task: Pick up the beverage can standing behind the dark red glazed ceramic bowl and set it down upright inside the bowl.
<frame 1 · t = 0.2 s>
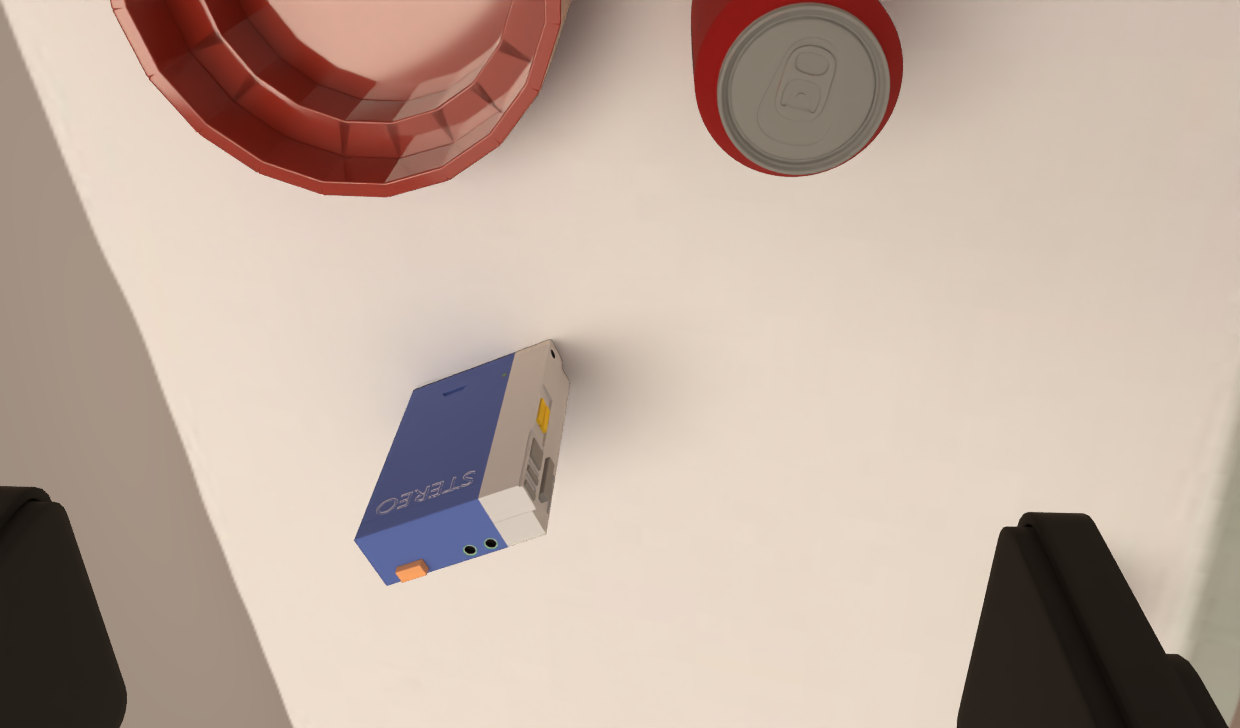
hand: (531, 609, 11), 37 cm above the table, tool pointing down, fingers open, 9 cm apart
beverage can: (772, 7, 43), on the table
walkman: (492, 383, 53), on the table
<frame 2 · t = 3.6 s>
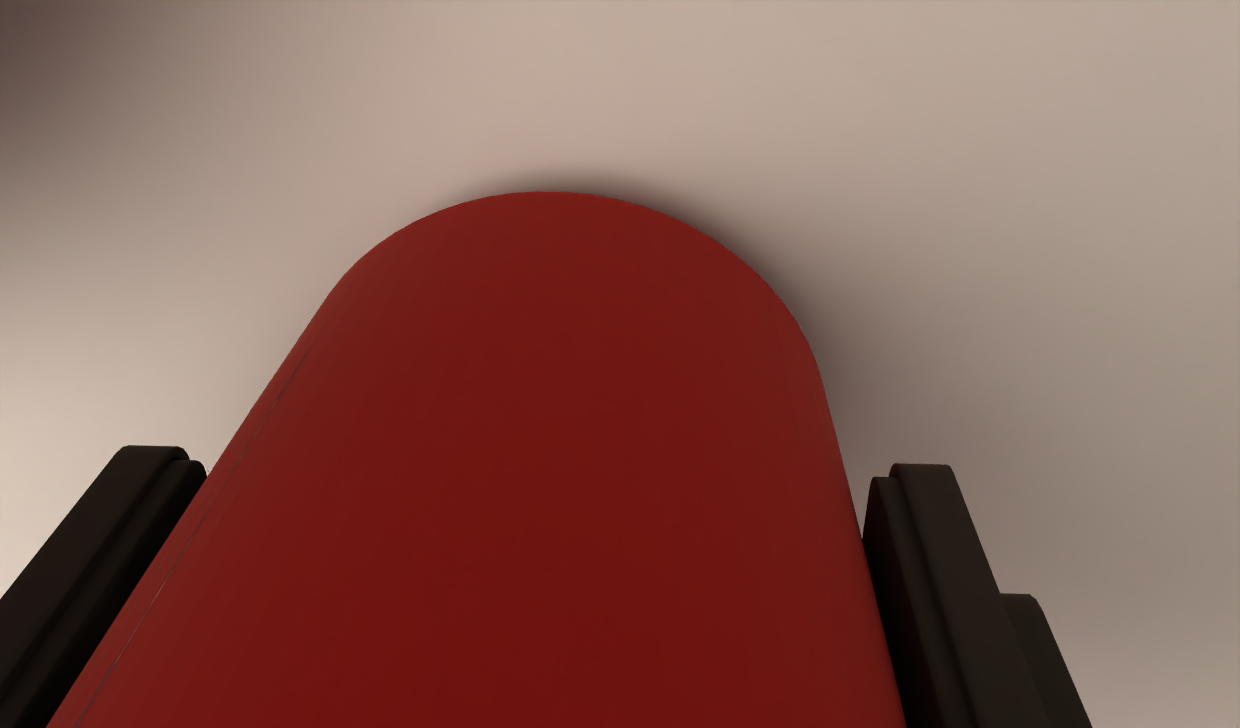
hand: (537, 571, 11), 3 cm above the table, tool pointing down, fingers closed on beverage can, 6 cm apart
beverage can: (567, 397, 14), on the table, touching gripper
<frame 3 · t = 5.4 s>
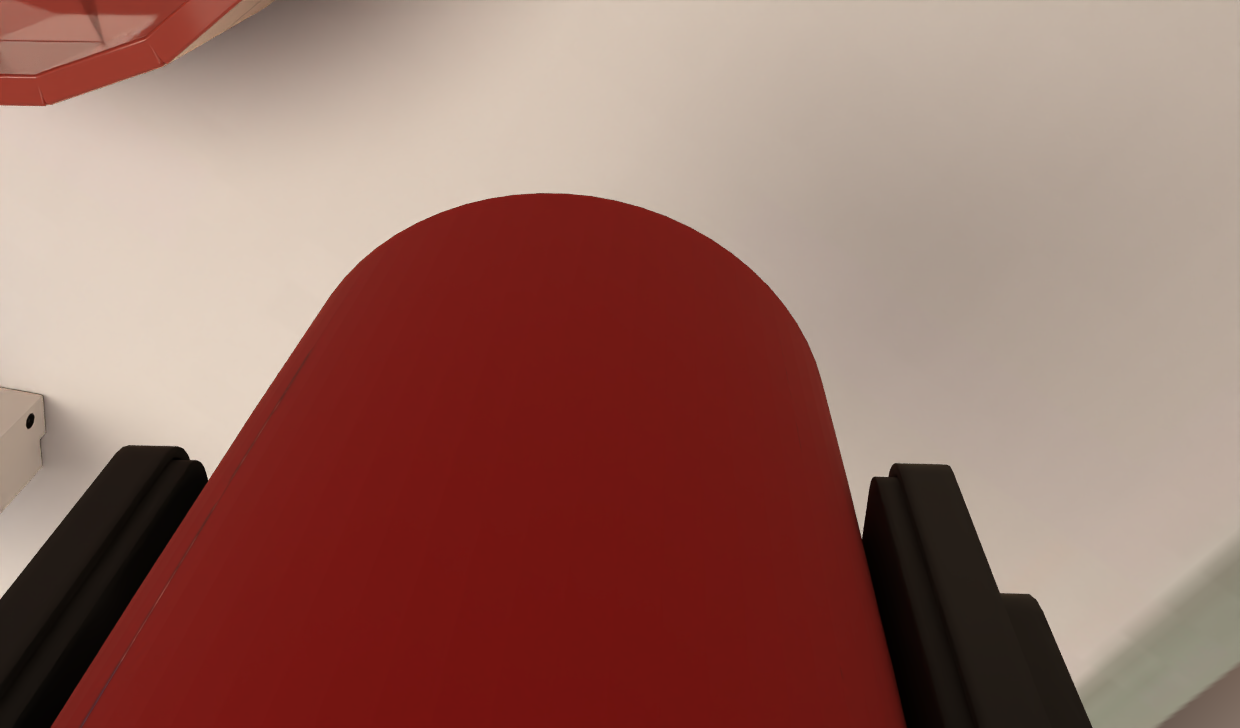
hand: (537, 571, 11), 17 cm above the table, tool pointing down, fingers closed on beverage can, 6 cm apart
beverage can: (567, 398, 14), point 14 cm above the table, touching gripper
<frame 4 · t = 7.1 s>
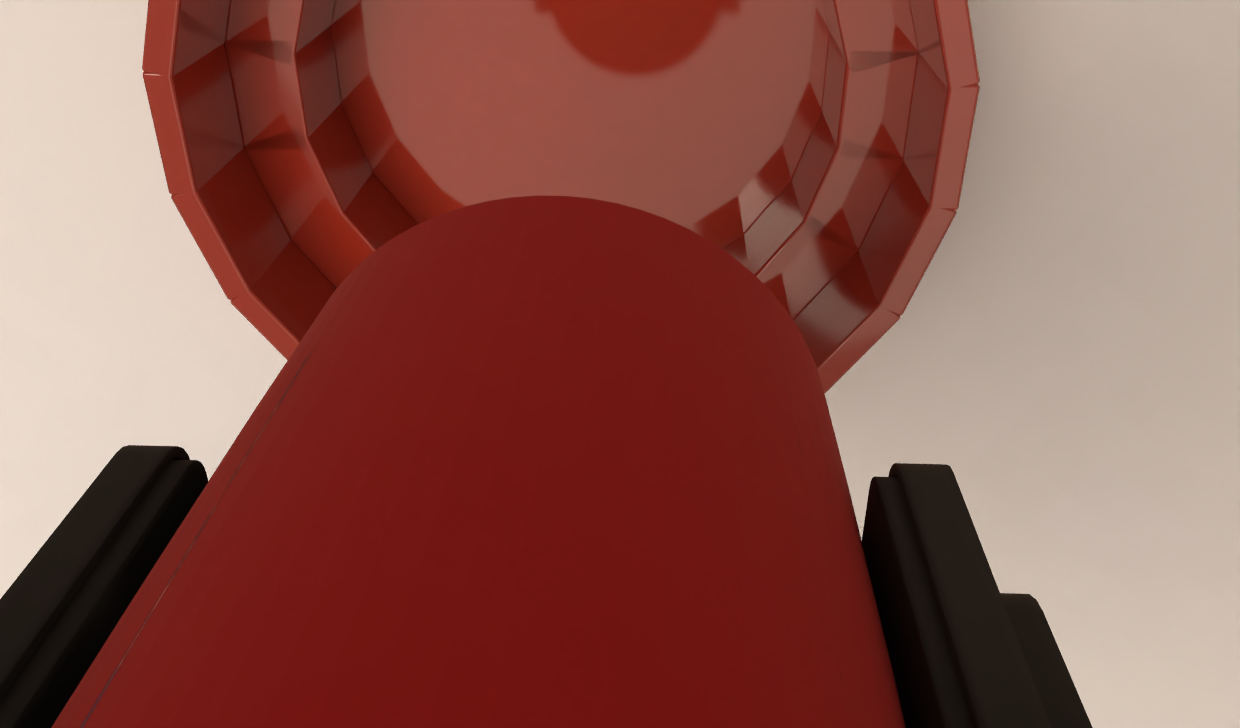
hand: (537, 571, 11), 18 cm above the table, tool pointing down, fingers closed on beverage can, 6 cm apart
bowl: (581, 59, 26), on the table
beverage can: (567, 400, 14), point 15 cm above the table, touching gripper
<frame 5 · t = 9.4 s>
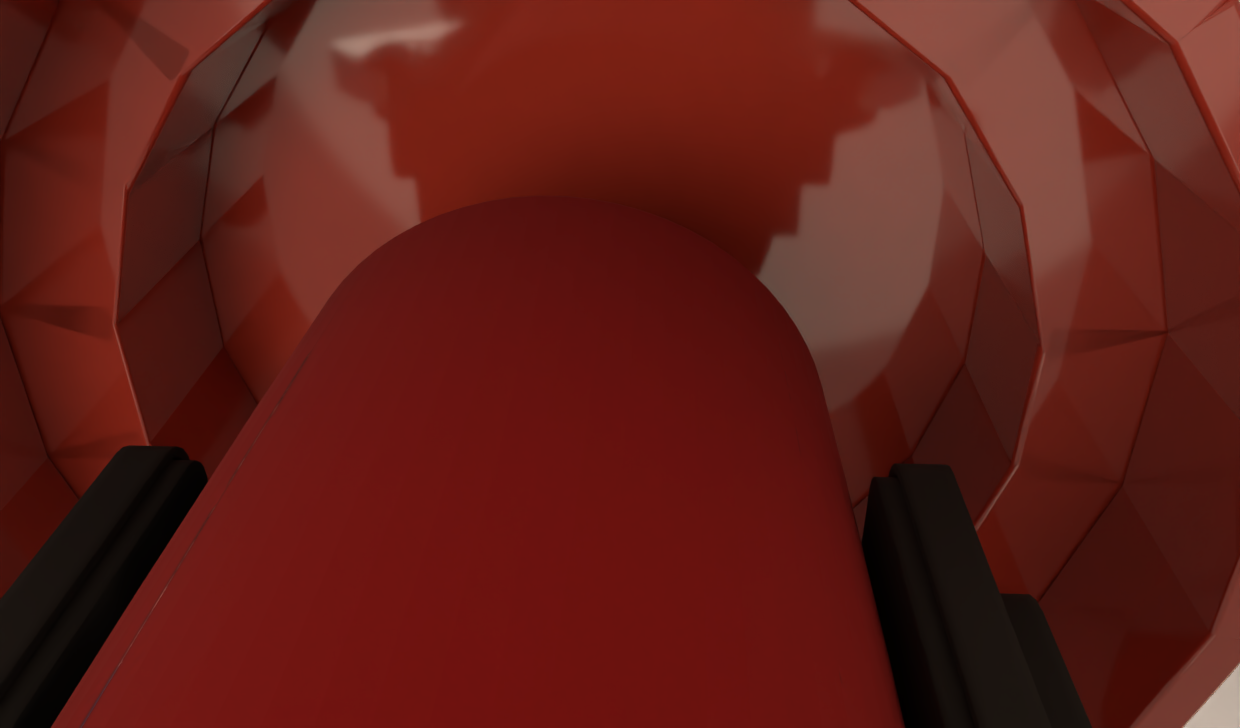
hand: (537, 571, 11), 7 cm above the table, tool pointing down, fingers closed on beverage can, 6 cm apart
bowl: (591, 278, 17), on the table
beverage can: (567, 400, 14), point 4 cm above the table, touching gripper
when the fingers open (4 cm above the table, at t = 10.8 s): beverage can stays where it is, resting on bowl.
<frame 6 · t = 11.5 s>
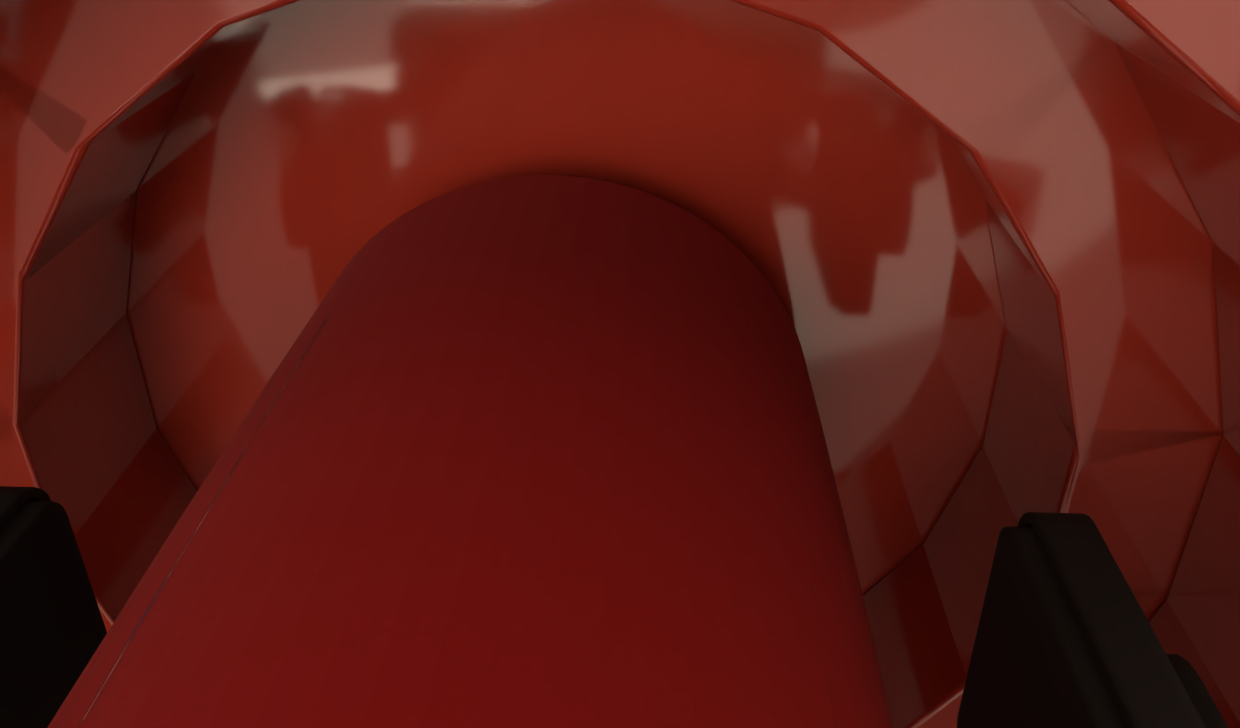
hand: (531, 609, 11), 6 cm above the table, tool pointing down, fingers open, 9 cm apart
bowl: (566, 350, 16), on the table
beverage can: (564, 373, 15), point 1 cm above the table, touching bowl
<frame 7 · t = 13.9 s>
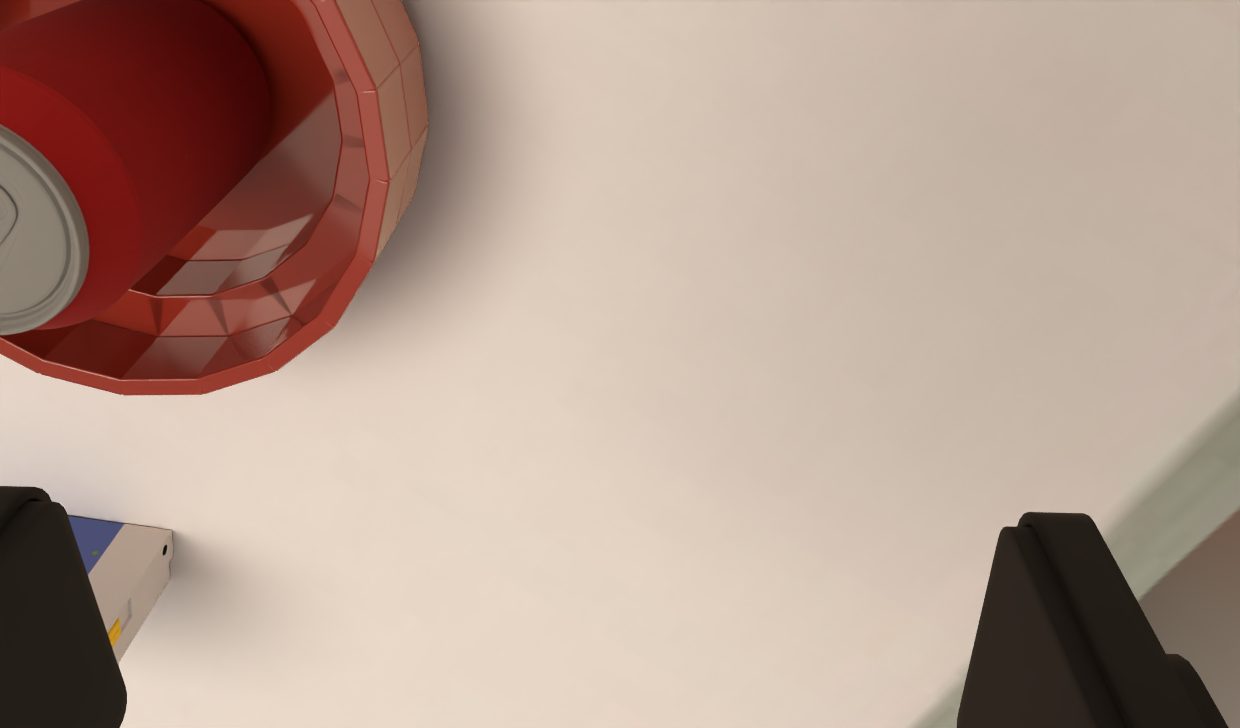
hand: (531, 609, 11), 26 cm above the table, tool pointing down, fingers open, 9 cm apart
bowl: (184, 82, 35), on the table
beverage can: (178, 87, 34), point 1 cm above the table, touching bowl
walkman: (81, 537, 44), on the table
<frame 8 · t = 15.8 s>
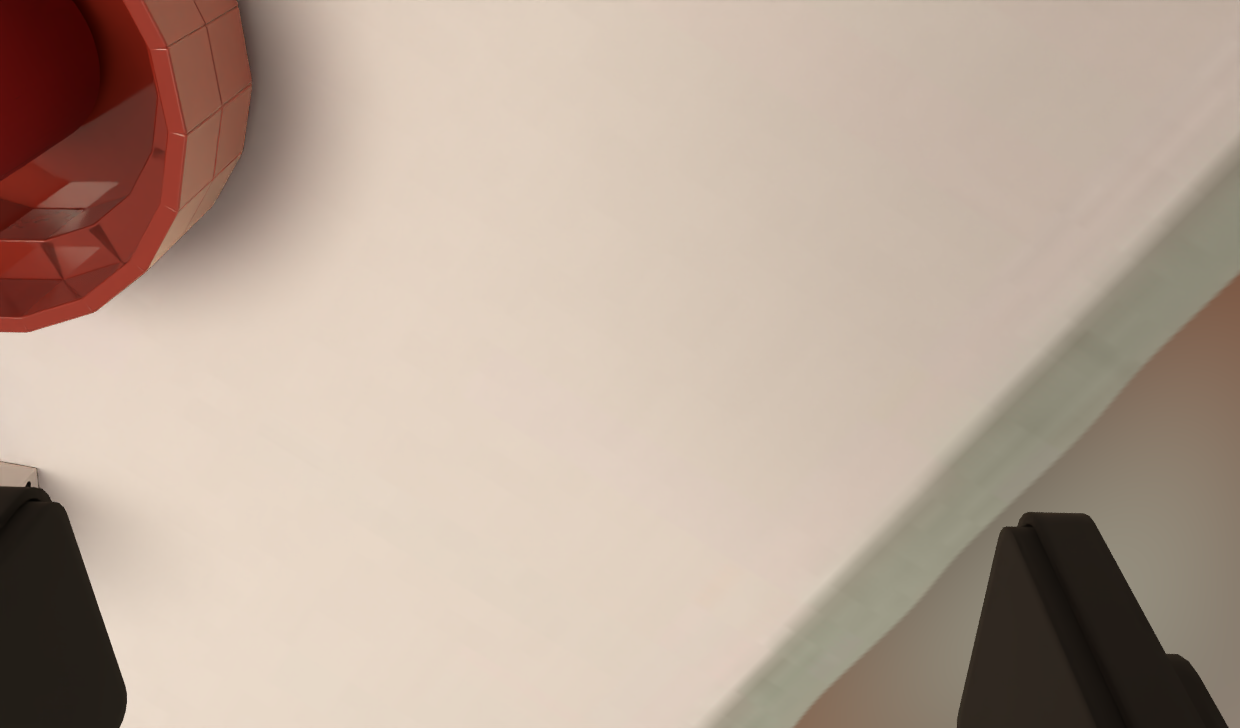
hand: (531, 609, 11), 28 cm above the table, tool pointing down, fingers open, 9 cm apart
bowl: (24, 37, 36), on the table
beverage can: (15, 42, 36), point 1 cm above the table, touching bowl
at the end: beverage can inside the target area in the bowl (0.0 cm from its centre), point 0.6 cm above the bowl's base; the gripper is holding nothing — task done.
